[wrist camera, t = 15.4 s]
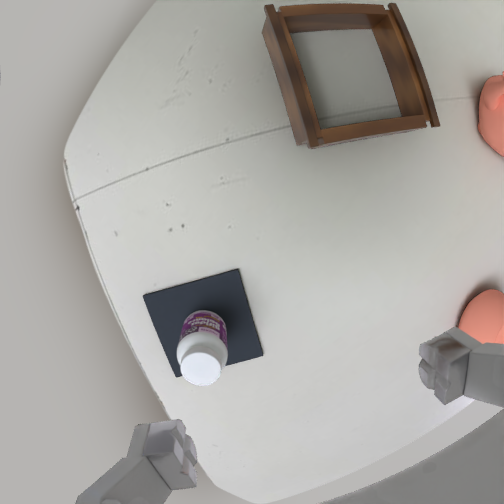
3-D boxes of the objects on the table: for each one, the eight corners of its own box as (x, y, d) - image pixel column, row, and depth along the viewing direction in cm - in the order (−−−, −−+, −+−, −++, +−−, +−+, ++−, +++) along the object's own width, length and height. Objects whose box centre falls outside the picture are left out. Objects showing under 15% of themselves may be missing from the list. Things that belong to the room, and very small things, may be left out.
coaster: (143, 295, 37) (142, 296, 37) (237, 268, 38) (238, 269, 37) (176, 375, 40) (176, 377, 39) (262, 353, 40) (263, 355, 40)
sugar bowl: (462, 283, 42) (506, 302, 32) (507, 287, 44) (546, 304, 34) (441, 353, 44) (477, 382, 34) (488, 348, 46) (522, 371, 36)
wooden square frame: (258, 26, 32) (264, 4, 27) (377, 19, 33) (396, 3, 27) (297, 153, 36) (310, 147, 30) (416, 131, 37) (440, 126, 31)
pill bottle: (220, 304, 38) (222, 341, 28) (230, 342, 39) (234, 386, 30) (177, 313, 38) (166, 351, 28) (188, 350, 39) (182, 395, 29)
